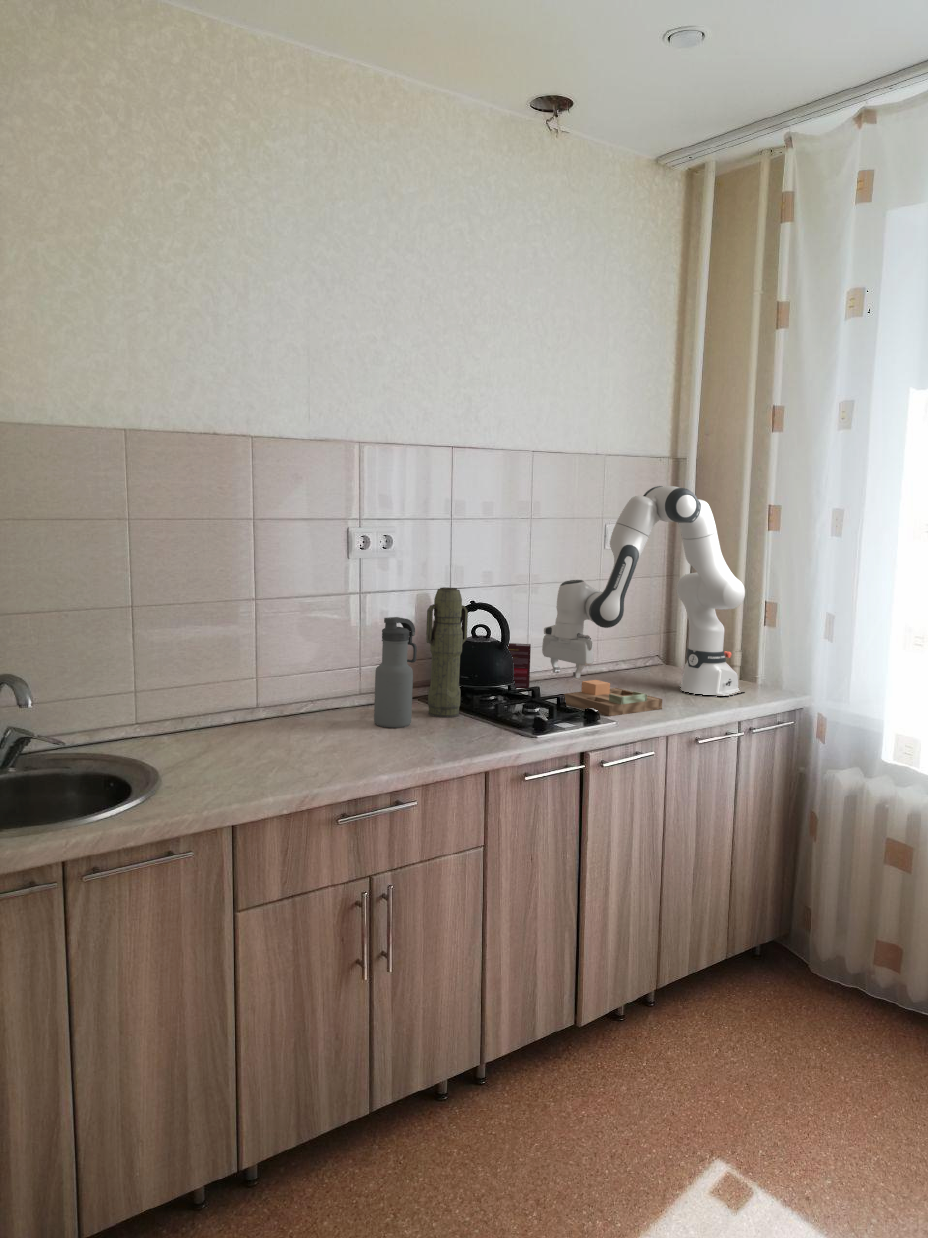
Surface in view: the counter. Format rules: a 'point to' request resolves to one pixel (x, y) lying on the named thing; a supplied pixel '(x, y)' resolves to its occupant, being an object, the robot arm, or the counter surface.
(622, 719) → the counter surface
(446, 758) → the counter surface
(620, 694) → the board
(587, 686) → the block
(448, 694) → the thermos
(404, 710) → the water bottle
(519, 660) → the supplement box
